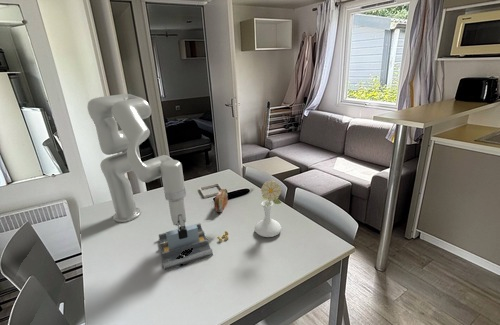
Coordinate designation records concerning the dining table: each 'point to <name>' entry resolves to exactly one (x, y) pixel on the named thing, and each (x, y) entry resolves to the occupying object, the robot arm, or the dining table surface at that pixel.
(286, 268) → the dining table surface
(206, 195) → the beige square frame
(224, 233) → the dice set
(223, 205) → the tin
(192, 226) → the blue-grey rectangular block
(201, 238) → the rack
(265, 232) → the flower in vase
